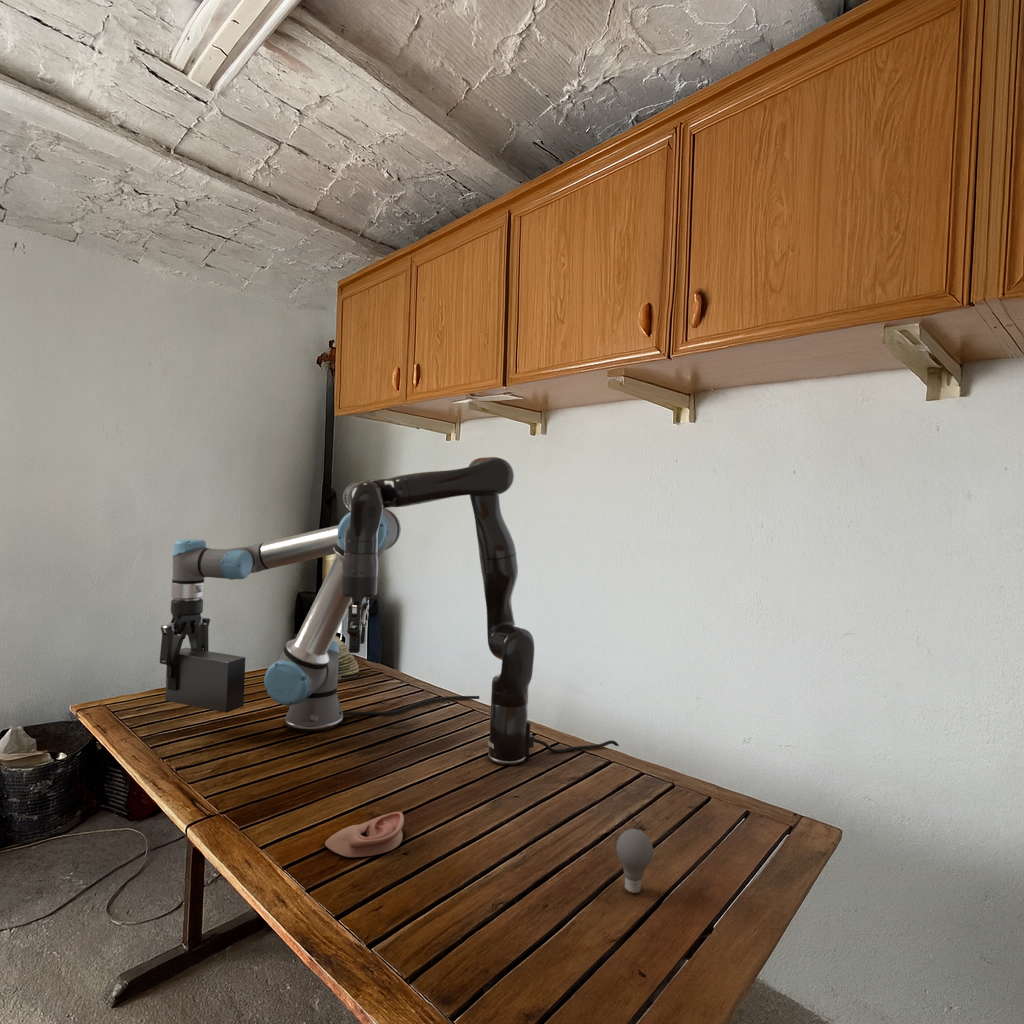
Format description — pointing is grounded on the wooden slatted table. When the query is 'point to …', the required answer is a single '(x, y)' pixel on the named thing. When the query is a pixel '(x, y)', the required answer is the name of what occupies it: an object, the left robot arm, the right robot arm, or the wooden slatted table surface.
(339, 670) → the fossil
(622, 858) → the light bulb
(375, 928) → the wooden slatted table surface
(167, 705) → the wooden slatted table surface
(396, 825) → the anatomical model
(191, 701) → the box
